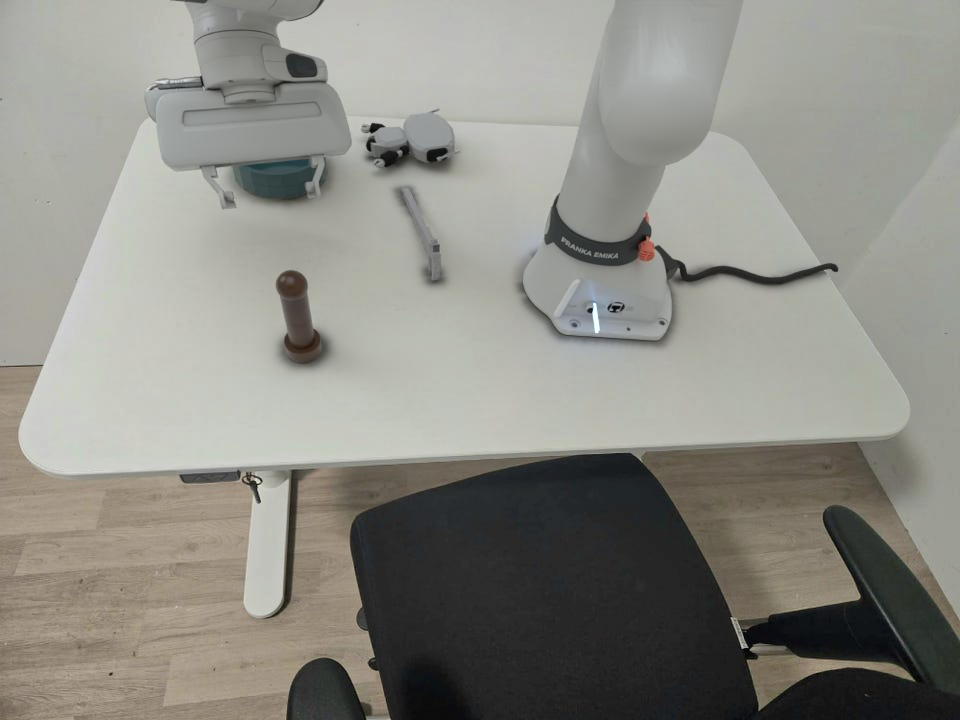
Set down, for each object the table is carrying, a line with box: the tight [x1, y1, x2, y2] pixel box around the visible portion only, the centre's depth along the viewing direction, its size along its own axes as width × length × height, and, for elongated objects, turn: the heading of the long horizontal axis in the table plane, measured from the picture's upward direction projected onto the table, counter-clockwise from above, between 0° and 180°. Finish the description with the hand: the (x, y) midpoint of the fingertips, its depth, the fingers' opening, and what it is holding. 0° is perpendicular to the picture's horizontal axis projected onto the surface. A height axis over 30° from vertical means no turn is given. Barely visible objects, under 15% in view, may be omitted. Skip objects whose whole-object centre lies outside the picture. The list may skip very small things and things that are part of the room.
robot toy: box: [360, 107, 461, 169], centre depth 97 cm, size 12×4×15 cm
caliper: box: [400, 187, 442, 281], centre depth 85 cm, size 20×1×6 cm, turn 17°
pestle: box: [275, 269, 323, 364], centre depth 67 cm, size 4×4×14 cm
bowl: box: [230, 157, 328, 200], centre depth 89 cm, size 14×14×5 cm
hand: (272, 203), depth 66 cm, fingers open, 8 cm apart
